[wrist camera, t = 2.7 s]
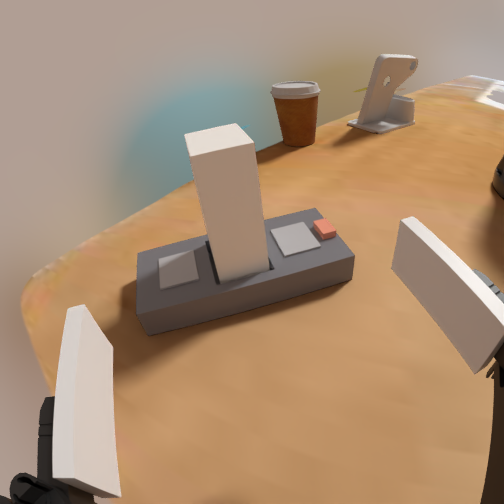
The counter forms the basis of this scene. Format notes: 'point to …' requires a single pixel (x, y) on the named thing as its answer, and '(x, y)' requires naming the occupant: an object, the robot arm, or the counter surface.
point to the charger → (230, 200)
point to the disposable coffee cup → (297, 111)
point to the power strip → (245, 289)
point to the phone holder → (387, 96)
